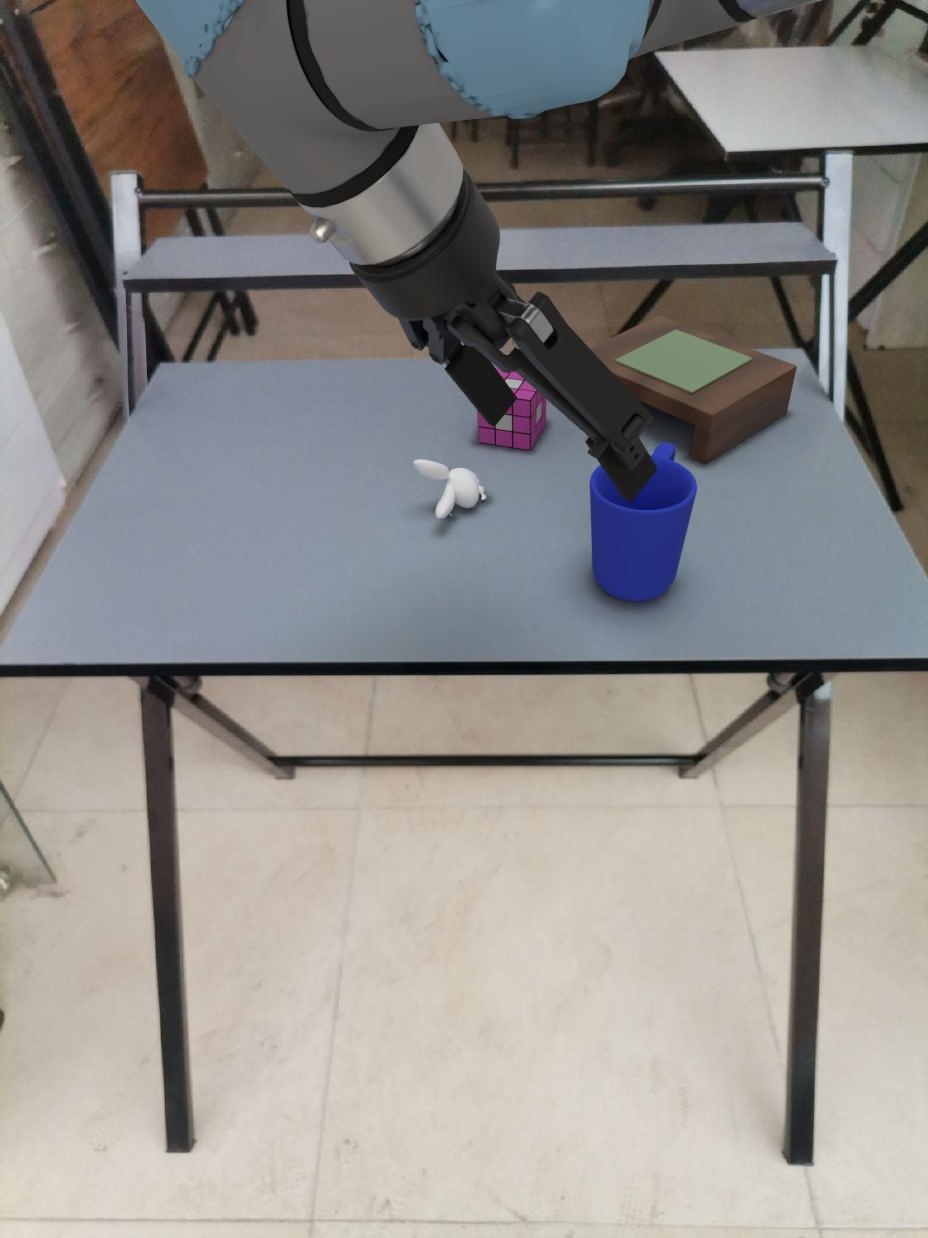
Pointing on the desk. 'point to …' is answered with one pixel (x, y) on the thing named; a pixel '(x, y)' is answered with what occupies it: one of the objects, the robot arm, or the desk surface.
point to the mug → (641, 529)
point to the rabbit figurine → (452, 486)
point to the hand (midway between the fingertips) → (567, 445)
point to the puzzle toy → (516, 417)
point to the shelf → (700, 381)
